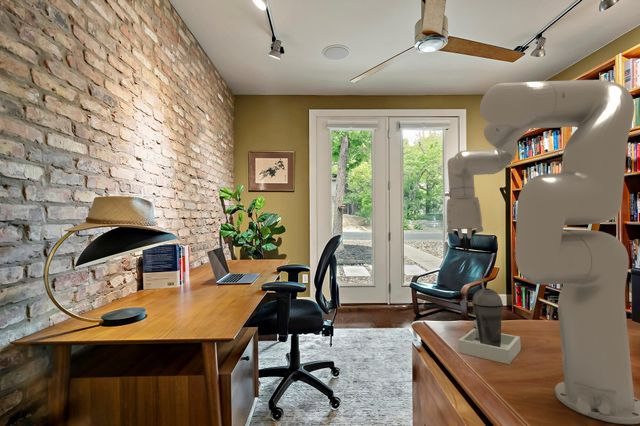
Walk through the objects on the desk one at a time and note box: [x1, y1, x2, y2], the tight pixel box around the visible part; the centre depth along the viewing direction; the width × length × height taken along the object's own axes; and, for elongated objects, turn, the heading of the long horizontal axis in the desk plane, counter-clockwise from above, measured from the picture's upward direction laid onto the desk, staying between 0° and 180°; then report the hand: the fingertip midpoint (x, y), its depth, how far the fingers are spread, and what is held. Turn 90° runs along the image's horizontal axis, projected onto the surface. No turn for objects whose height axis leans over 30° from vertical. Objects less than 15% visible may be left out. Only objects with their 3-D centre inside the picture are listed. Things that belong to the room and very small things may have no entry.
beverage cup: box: [471, 271, 504, 347], centre depth 82 cm, size 7×7×20 cm
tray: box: [458, 328, 522, 365], centre depth 82 cm, size 12×12×3 cm
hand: (466, 250), depth 100 cm, fingers closed
